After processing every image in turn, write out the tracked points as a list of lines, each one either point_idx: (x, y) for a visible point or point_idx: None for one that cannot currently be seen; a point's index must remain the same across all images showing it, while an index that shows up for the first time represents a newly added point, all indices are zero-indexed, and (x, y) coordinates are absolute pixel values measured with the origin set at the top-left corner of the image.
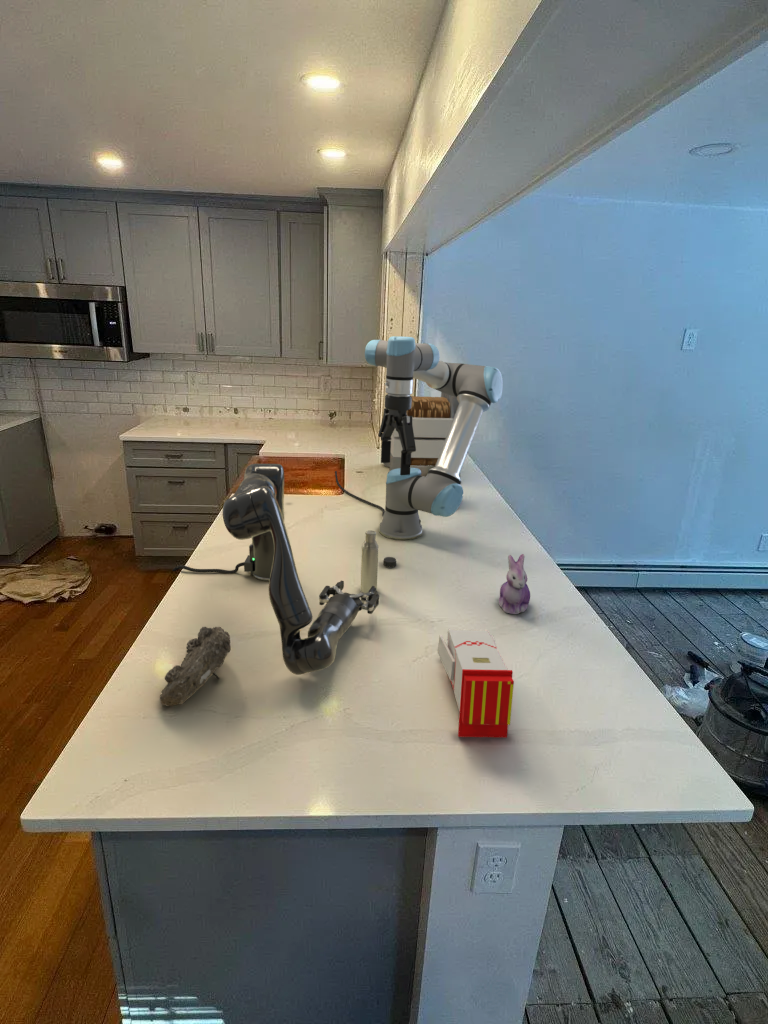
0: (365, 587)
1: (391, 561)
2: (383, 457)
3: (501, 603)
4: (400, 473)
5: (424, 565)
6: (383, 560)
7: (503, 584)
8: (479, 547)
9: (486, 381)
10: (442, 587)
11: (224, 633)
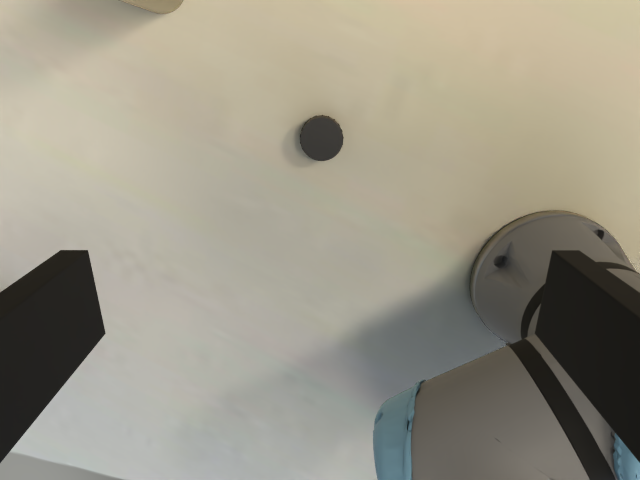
0: None
1: (305, 138)
2: (582, 294)
3: None
4: (73, 256)
5: (286, 237)
6: (334, 120)
7: None
8: (345, 421)
9: None
10: (140, 219)
11: None
